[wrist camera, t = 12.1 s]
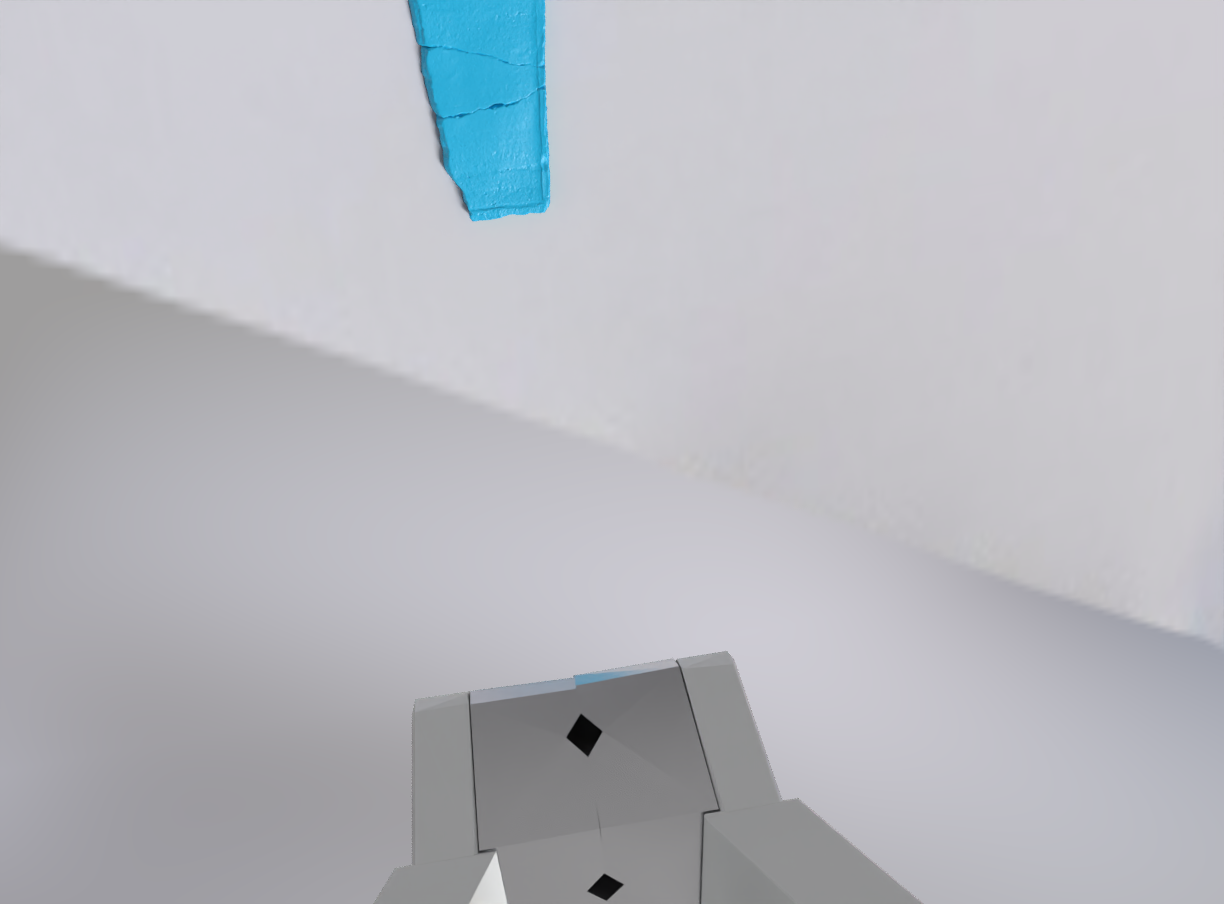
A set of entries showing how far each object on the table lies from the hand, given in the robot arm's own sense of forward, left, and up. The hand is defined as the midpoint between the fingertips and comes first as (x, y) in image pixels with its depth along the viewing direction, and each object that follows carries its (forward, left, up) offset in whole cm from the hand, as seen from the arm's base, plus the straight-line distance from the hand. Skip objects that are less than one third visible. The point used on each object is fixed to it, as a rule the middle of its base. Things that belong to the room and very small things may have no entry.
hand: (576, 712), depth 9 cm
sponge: (-1, +5, -38) cm, 38 cm away
